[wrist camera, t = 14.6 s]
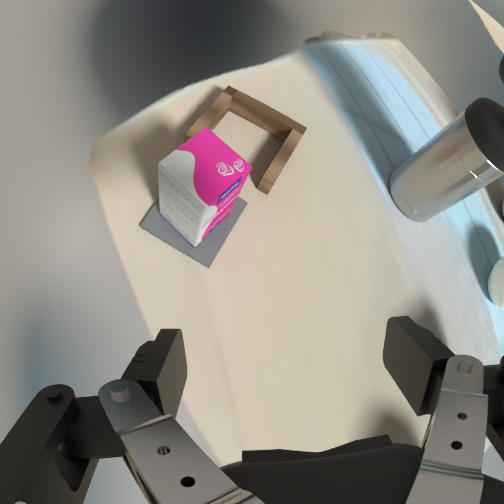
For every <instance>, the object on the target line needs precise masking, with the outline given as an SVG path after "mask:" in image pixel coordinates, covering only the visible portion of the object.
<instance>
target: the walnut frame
mask: <svg viewBox="0 0 504 504" xmlns="http://www.w3.org/2000/svg"><path fill="white" fill-rule="evenodd" d="M228 111H231V112H233V113H235V114H236V115H238V116H240V117H242V118H244V119H246V120H248V121H250V122H251V123H253V124H255V125H257V126H259V127H261V128H262V129H264V130H266V131H268V132H270V133H271V134H273V135H275V136H277V137H278V138H280V139H282V140H284V141H285V142H284V144H283V145H282V147H281V148H280V150H279V152H278V153H277V155H276V156H275V158H274V160H273V161H272V163H271V164H270V166H269V168H268V169H267V171H266V172H265V174H264V176H263V177H262V179H261V181H260V183H259V185H258V187H257V189H258V190H260V191H261V192H263V193H265V194H268V193H269V191H270V189H271V188H272V186H273V185H274V183H275V181H276V179H277V178H278V176H279V174H280V173H281V171H282V169H283V168H284V166H285V164H286V163H287V161H288V159H289V157H290V156H291V154H292V152H293V151H294V149H295V147H296V146H297V144H298V142H299V141H300V139H301V137H302V136H303V134H304V132H305V131H306V129H307V128H306V127H305V126H303V125H301V124H299V123H298V122H296V121H294V120H293V119H291V118H289V117H287V116H285V115H284V114H282V113H280V112H278V111H277V110H275V109H273V108H271V107H269V106H267V105H265V104H264V103H262V102H260V101H258V100H256V99H254V98H252V97H250V96H248V95H246V94H244V93H242V92H240V91H238V90H236V89H234V88H232V87H230V86H228V87H227V88H226V89H225V90H224V91H223V92H222V93H221V94H220V95H219V96H218V97H217V98H216V99H215V100H214V102H213V103H212V104H211V105H210V106H209V107H208V108H207V109H206V110H205V112H204V113H203V114H202V115H201V116H200V117H199V118H198V119H197V121H196V122H195V123H194V124H193V125H192V126H191V128H190V129H189V130H188V131H187V132H186V133H185V139H184V142H186V141H187V140H189V139H190V138H191V137H193V136H194V135H195V134H197V133H198V132H200V131H201V130H203V129H204V128H206V127H207V128H208V129H210V130H211V131H212V130H213V129H214V128H215V126H216V125H217V124H218V123H219V121H220V120H221V119H222V118H223V117H224V115H225V114H226V113H227V112H228Z"/></svg>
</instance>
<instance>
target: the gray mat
mask: <svg viewBox="0 0 504 504" xmlns="http://www.w3.org/2000/svg"><path fill="white" fill-rule="evenodd" d="M246 205H247V202H245V201H244V200H242V199H240V198H238V197H237V199H236V201H235V203H234V205H233V207H232V209H231V211H230V214H229V216H228V217H226V218H225V219H224V220H223V221H222V222H221V223H220V224H219V225H217V226H216V227H215V228H214V229H213V230H212V231H211V232H210V233H209V234H208V235H207V236H206V237H205V238H204V239H203V240H202V241H201V242H200V243H199V244H198V245H197V246H196V247H195V248H193V247H192V246H191V245H190V244H189V243H188V242H187V241H186V240H185V239H184V238H183V237H182V236H181V235H180V234H179V233H178V232H177V231H176V230H175V229H174V228H173V227H172V226H171V225H170V224H169V223H168V222H167V221H166V220H165V219H164V218H163V217H162V216H161V215H160V204H159V199H158V200H157V202H156V203H155V205H154V206H153V207H152V209H151V210H150V212H149V213H148V215H147V216H146V217H145V219H144V220H143V222H142V223H141V225H140V227H141V228H142V229H144V230H146V231H147V232H149V233H151V234H152V235H154V236H156V237H157V238H159V239H161V240H162V241H164V242H166V243H167V244H169V245H171V246H172V247H174V248H176V249H177V250H179V251H181V252H182V253H184V254H186V255H187V256H189V257H191V258H192V259H194V260H196V261H197V262H199V263H201V264H203V265H204V266H206V267H208V268H209V267H210V265H211V263H212V262H213V260H214V258H215V257H216V255H217V253H218V252H219V250H220V248H221V247H222V245H223V243H224V242H225V240H226V238H227V237H228V235H229V233H230V232H231V230H232V228H233V227H234V225H235V223H236V222H237V220H238V218H239V217H240V215H241V213H242V212H243V210H244V208H245V207H246Z"/></svg>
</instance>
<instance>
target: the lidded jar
mask: <svg viewBox="0 0 504 504" xmlns="http://www.w3.org/2000/svg"><path fill="white" fill-rule="evenodd" d="M487 285H488V293H489V296H490V299H491V300H492V302H493V303H494V304H495V305H497V306H498V307H499V308H500V309H501V310H503V311H504V256H503V257H502V258H501V259H499V260H498V261H497V262H496V264H495V265H494V267H493V269H492V271H491V274H490V275H489V277H488V284H487Z"/></svg>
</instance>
